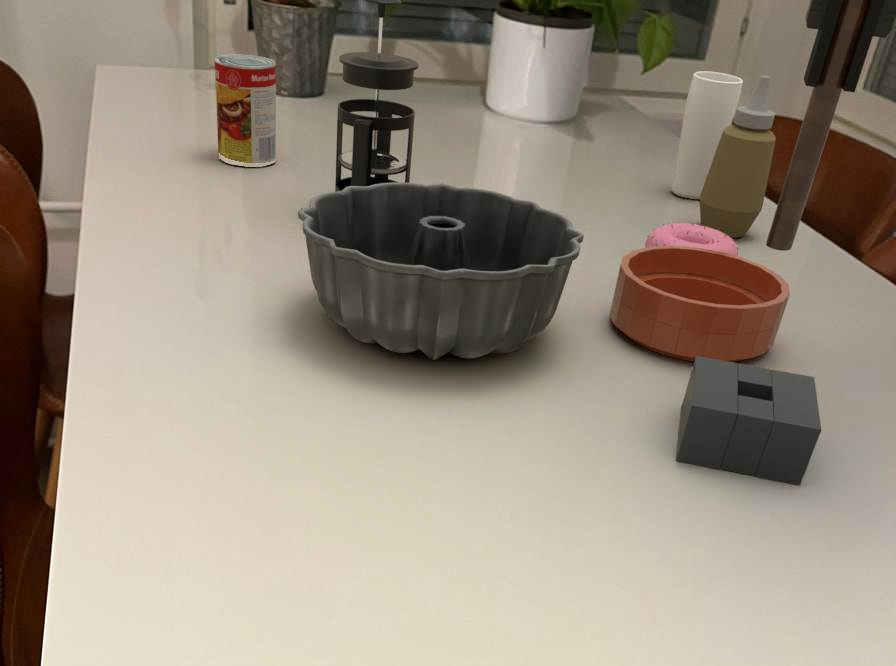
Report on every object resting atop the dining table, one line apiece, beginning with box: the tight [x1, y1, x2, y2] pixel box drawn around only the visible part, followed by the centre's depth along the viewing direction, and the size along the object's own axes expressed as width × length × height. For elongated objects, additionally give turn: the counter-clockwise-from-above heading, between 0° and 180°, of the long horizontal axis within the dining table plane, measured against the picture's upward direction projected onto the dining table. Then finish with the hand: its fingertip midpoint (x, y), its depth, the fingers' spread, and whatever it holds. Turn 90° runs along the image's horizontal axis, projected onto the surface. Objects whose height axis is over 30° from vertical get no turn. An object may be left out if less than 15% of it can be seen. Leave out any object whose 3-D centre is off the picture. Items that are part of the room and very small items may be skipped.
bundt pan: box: [297, 181, 585, 361], centre depth 94 cm, size 26×26×10 cm
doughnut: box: [644, 222, 740, 257], centre depth 115 cm, size 11×11×4 cm
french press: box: [334, 0, 419, 192], centre depth 114 cm, size 12×9×23 cm
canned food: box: [214, 53, 277, 163], centre depth 132 cm, size 8×8×12 cm
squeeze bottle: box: [699, 75, 777, 239], centre depth 123 cm, size 8×8×18 cm
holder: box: [675, 356, 822, 486], centre depth 82 cm, size 10×10×5 cm
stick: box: [765, 0, 871, 252], centre depth 71 cm, size 2×2×22 cm
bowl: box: [609, 246, 791, 363], centre depth 100 cm, size 17×17×6 cm
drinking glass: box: [670, 70, 744, 200], centre depth 136 cm, size 7×7×15 cm
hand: (828, 84), depth 71 cm, fingers closed on stick, 2 cm apart
